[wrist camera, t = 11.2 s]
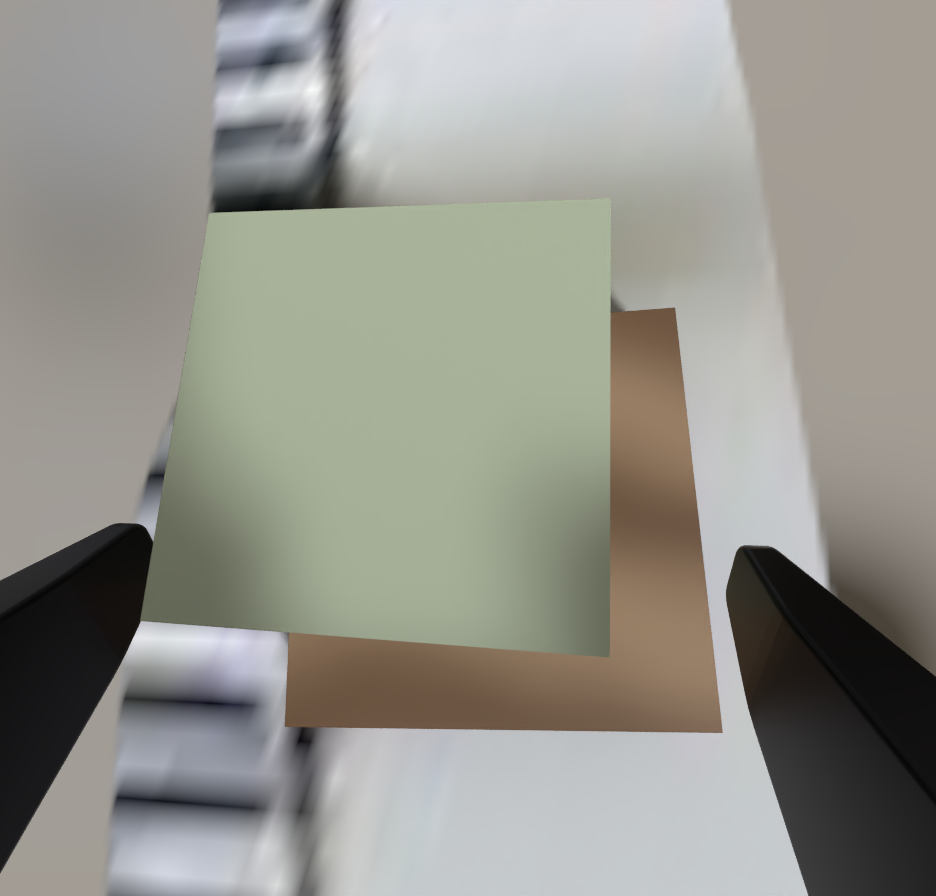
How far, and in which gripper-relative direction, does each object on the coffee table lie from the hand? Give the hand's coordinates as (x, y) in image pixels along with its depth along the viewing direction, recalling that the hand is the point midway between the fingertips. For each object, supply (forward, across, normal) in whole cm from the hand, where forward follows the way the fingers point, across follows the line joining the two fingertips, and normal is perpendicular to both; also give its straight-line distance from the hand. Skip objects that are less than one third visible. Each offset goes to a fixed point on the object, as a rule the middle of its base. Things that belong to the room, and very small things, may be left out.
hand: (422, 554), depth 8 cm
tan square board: (+9, 0, +7) cm, 11 cm away
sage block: (+7, 0, +4) cm, 8 cm away
